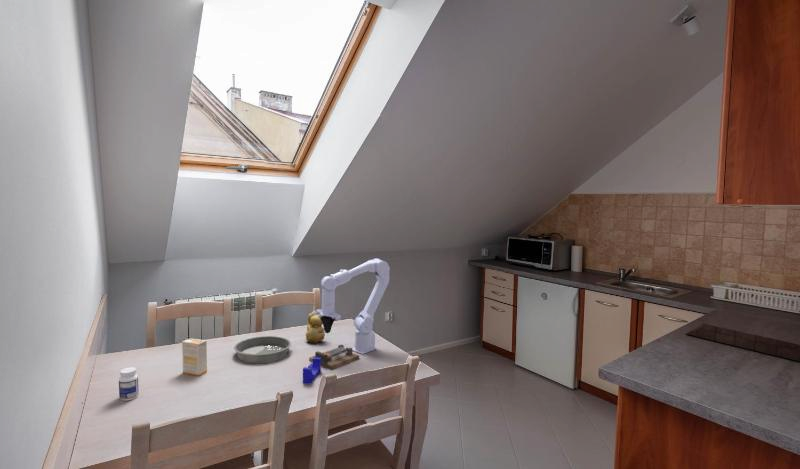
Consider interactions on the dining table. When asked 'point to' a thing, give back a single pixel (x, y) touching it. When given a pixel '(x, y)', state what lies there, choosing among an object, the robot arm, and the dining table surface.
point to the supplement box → (194, 356)
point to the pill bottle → (128, 384)
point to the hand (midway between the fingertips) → (327, 332)
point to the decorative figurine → (314, 328)
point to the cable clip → (312, 371)
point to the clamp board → (335, 358)
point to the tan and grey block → (335, 351)
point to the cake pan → (264, 354)
